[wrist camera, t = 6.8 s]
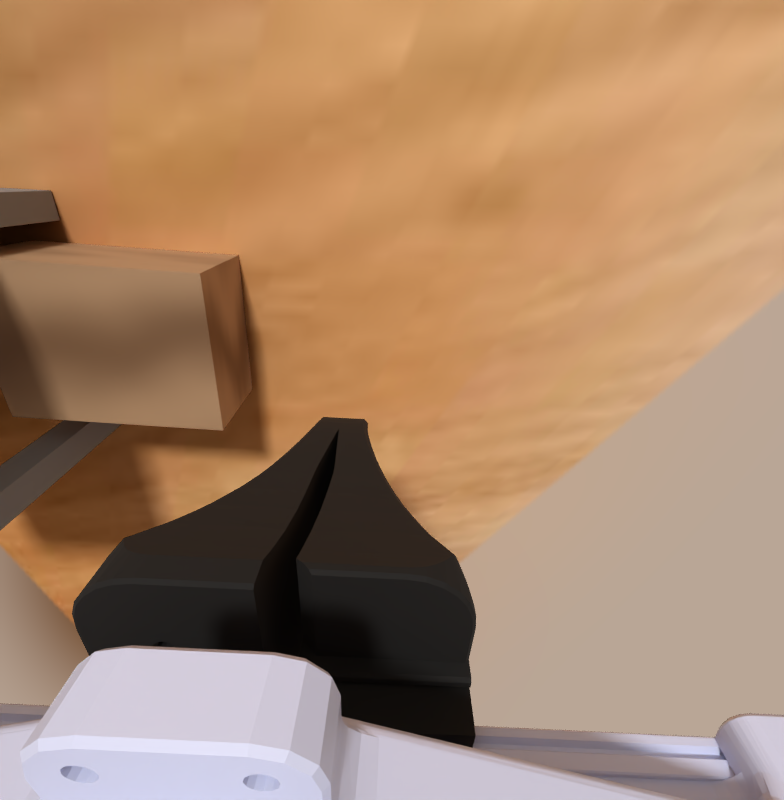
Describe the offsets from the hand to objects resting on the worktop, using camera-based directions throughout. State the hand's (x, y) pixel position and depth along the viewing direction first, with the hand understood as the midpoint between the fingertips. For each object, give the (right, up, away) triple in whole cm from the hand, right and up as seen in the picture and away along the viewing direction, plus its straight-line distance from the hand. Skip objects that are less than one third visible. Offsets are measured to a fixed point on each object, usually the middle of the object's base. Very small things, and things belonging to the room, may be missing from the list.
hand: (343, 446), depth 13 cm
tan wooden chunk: (-11, +6, +9) cm, 15 cm away
